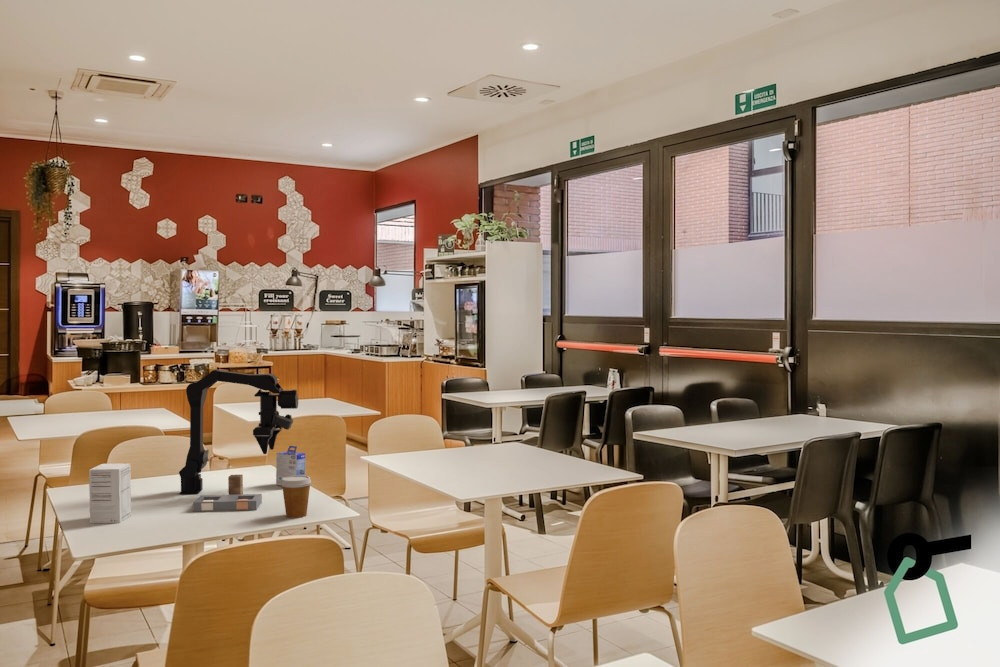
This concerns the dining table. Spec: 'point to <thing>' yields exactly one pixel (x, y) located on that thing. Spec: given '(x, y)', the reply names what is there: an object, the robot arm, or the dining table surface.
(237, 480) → the walnut plug
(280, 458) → the ink cartridge box
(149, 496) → the dining table surface
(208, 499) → the socket board
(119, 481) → the supplement box
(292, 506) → the disposable coffee cup
